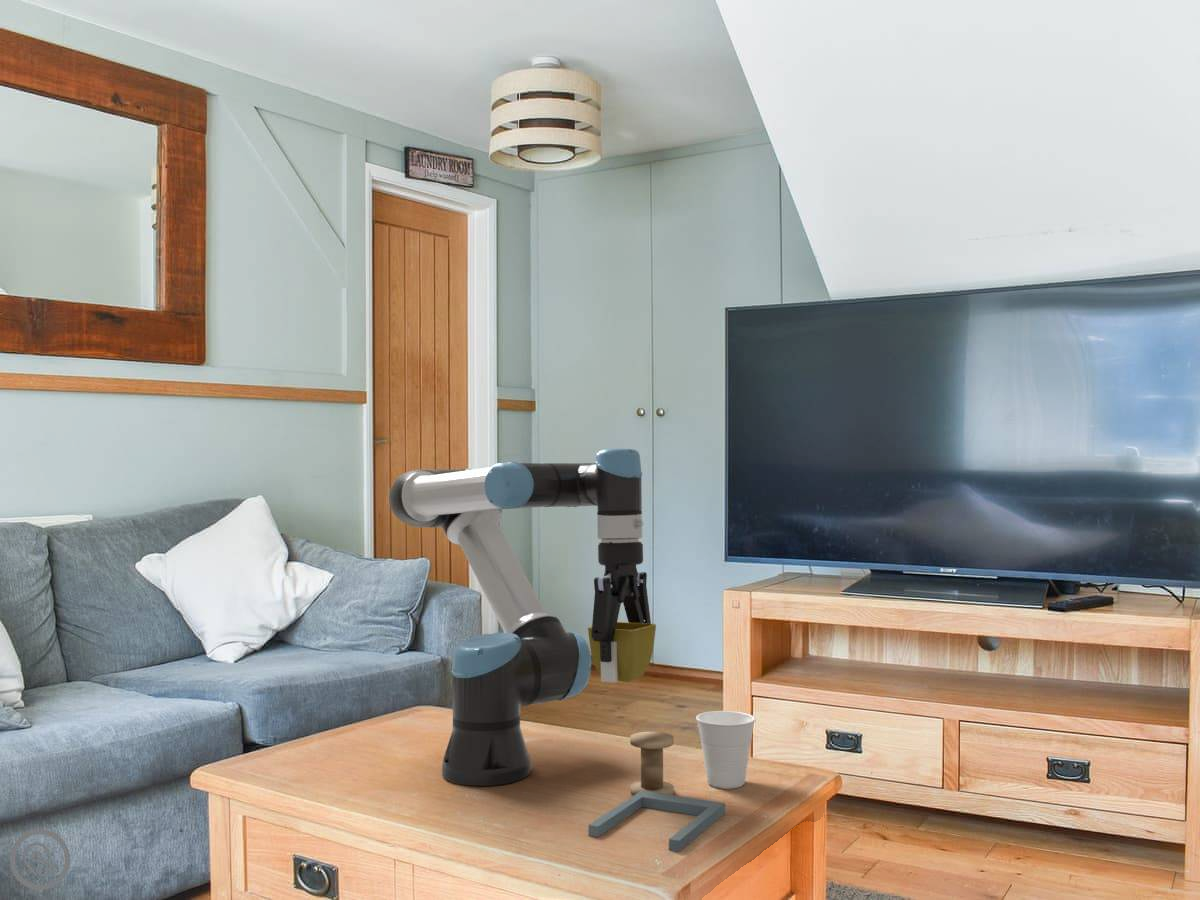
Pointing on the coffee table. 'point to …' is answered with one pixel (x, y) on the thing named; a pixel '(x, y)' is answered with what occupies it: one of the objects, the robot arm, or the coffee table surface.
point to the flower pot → (628, 649)
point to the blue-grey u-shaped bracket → (701, 808)
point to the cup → (725, 746)
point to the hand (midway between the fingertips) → (623, 677)
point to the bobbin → (651, 762)
